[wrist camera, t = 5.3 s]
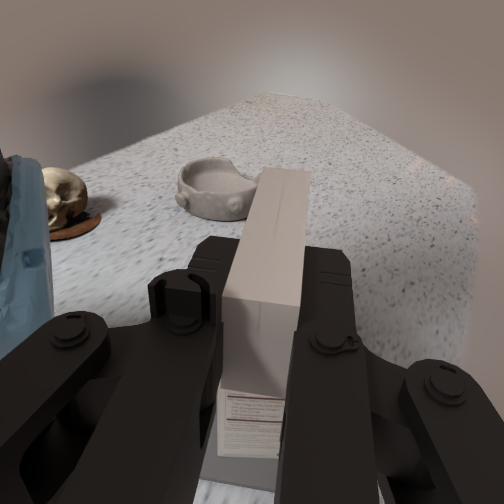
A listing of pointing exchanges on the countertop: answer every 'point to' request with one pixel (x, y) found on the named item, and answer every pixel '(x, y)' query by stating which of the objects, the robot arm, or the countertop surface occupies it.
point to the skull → (66, 204)
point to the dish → (215, 190)
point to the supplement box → (248, 424)
